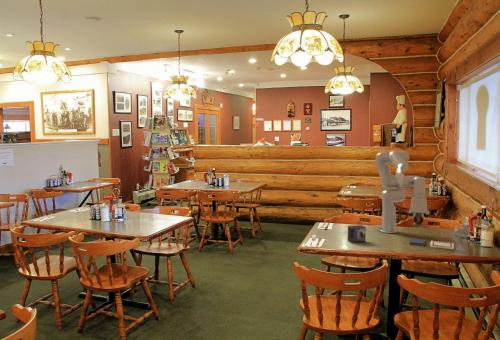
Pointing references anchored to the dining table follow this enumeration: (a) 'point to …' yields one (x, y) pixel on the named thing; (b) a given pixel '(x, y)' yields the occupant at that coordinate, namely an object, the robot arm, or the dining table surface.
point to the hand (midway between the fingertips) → (418, 222)
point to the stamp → (418, 221)
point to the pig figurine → (462, 230)
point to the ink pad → (417, 242)
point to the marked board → (442, 245)
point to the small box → (356, 234)
